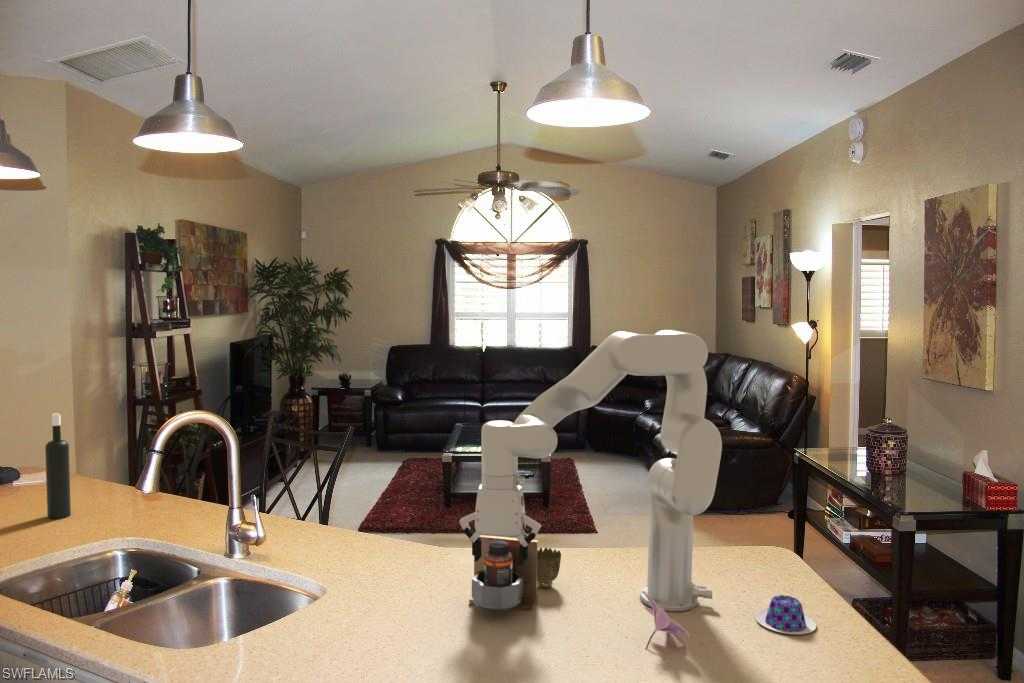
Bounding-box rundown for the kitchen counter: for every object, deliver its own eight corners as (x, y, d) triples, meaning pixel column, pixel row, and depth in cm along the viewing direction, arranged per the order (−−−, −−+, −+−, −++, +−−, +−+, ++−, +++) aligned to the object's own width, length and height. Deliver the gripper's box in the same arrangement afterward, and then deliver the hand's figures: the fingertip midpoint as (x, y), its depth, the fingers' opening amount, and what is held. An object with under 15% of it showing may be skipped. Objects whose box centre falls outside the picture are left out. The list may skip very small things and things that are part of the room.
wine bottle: (42, 518, 216) (39, 414, 213) (58, 512, 221) (54, 411, 219) (60, 519, 215) (57, 415, 212) (75, 513, 220) (72, 412, 218)
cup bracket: (537, 600, 166) (539, 538, 165) (524, 628, 152) (525, 561, 151) (476, 593, 169) (477, 532, 168) (458, 620, 155) (458, 554, 154)
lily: (688, 670, 139) (707, 620, 141) (630, 643, 140) (649, 593, 142) (672, 659, 151) (689, 612, 153) (618, 633, 151) (635, 588, 154)
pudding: (743, 621, 158) (744, 597, 158) (775, 607, 166) (777, 583, 165) (795, 643, 149) (796, 617, 148) (827, 627, 156) (828, 602, 156)
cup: (558, 594, 169) (558, 559, 169) (525, 591, 171) (526, 557, 170) (562, 581, 177) (563, 548, 176) (531, 578, 178) (532, 545, 177)
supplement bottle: (518, 596, 158) (519, 543, 158) (498, 604, 154) (499, 550, 153) (497, 587, 163) (498, 536, 162) (478, 595, 158) (478, 543, 157)
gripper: (544, 478, 158) (543, 557, 160) (464, 473, 162) (465, 551, 163) (537, 488, 151) (537, 571, 152) (454, 483, 155) (455, 564, 156)
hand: (500, 560), depth 158 cm, fingers open, 9 cm apart
